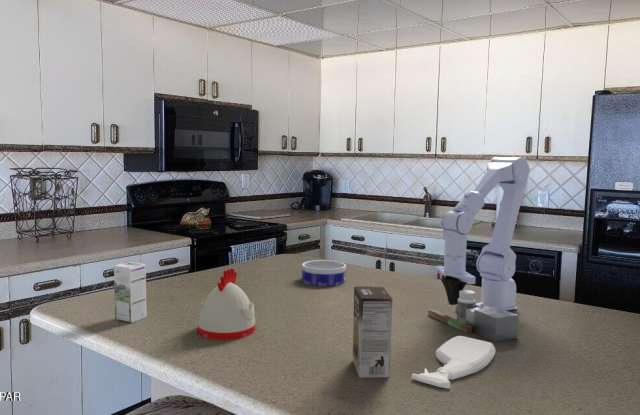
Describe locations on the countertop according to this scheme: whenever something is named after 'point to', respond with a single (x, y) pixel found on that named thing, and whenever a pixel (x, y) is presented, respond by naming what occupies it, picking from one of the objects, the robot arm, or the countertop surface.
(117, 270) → the syrup box
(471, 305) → the pill bottle
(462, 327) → the gauge rails
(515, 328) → the block
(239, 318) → the kitchen timer
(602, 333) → the countertop surface
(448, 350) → the spray bottle
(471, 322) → the small grey block
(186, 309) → the countertop surface
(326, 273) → the dog bowl
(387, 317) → the coffee box
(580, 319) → the countertop surface
